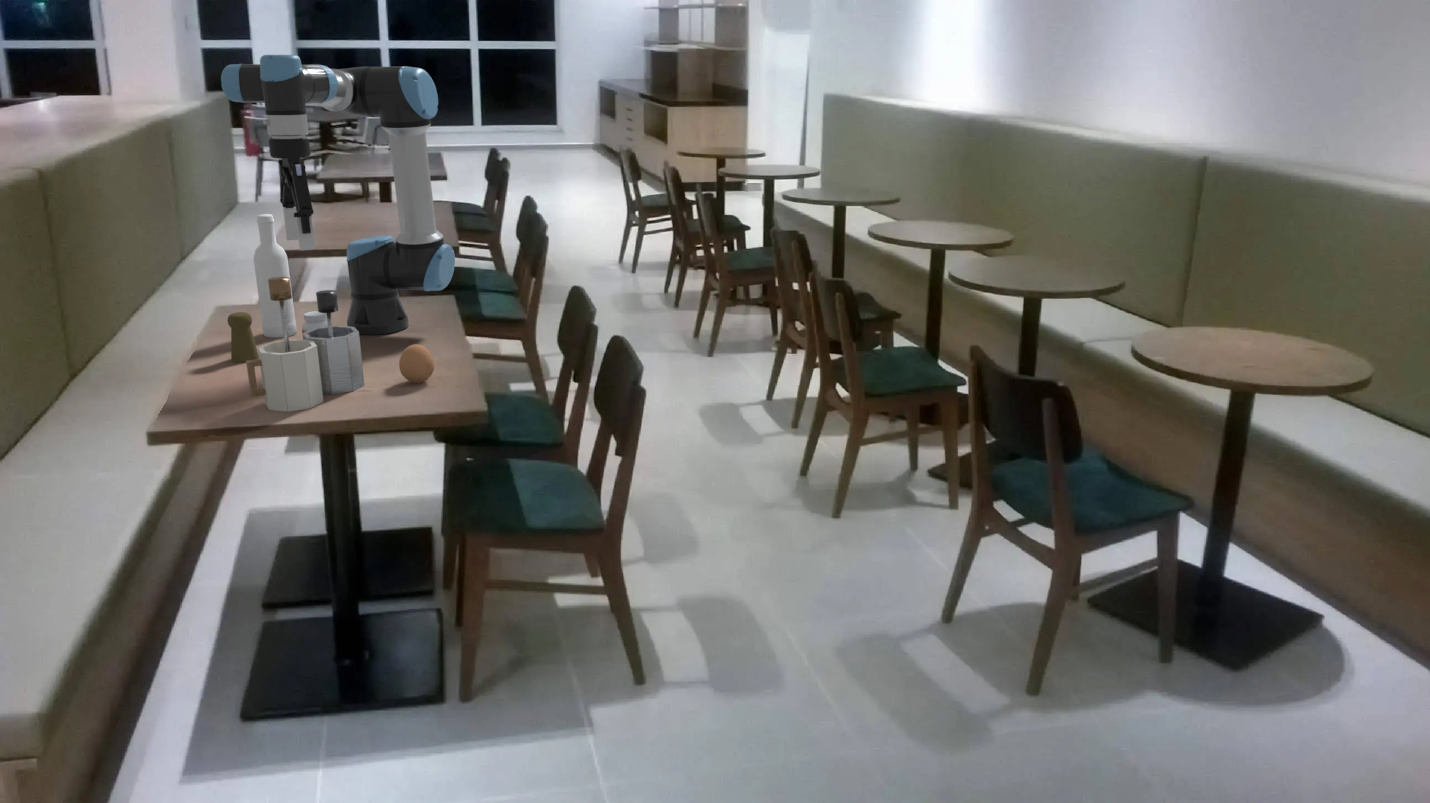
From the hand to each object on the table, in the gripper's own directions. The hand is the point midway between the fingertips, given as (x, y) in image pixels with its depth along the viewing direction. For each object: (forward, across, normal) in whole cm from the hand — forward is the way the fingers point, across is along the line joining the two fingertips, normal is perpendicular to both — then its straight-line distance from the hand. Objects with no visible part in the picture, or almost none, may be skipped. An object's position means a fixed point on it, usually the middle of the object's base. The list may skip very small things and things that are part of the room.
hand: (300, 244), depth 222 cm
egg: (+32, +2, +21) cm, 38 cm away
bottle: (+31, -55, +2) cm, 63 cm away
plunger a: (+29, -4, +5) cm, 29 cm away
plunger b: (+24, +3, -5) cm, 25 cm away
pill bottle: (+31, -27, +6) cm, 42 cm away
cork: (+32, -36, -9) cm, 49 cm away
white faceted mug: (+32, +3, -7) cm, 33 cm away
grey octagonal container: (+32, -4, +4) cm, 32 cm away
